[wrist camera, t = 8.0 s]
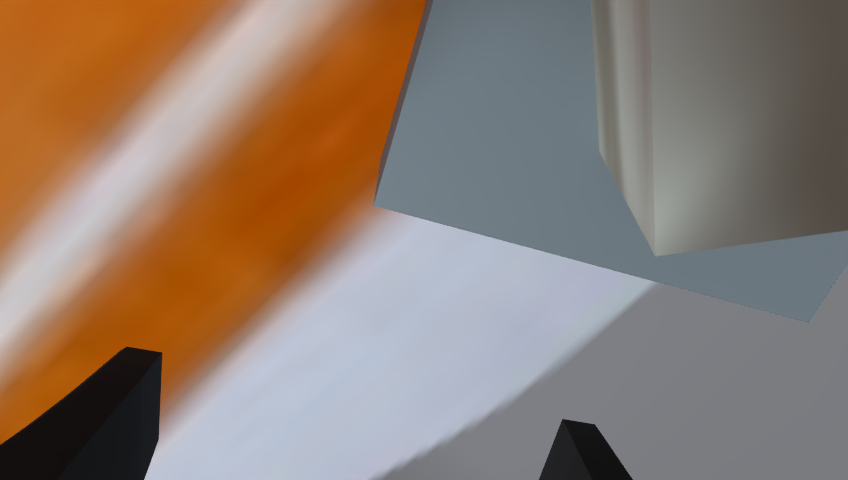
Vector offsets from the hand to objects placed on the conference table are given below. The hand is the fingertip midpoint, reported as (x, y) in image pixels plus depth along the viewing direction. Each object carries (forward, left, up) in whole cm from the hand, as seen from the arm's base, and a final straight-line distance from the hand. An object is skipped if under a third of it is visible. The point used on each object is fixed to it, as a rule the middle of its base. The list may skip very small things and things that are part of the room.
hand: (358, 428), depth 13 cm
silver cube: (+5, +7, -6) cm, 11 cm away
